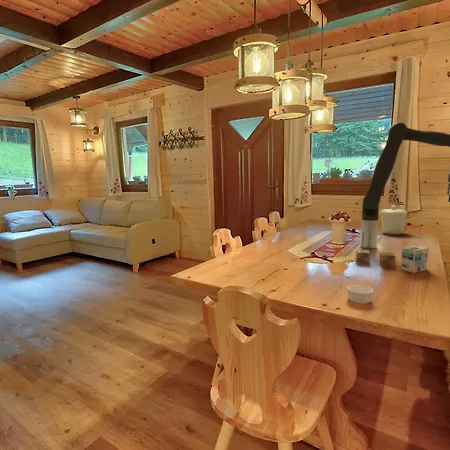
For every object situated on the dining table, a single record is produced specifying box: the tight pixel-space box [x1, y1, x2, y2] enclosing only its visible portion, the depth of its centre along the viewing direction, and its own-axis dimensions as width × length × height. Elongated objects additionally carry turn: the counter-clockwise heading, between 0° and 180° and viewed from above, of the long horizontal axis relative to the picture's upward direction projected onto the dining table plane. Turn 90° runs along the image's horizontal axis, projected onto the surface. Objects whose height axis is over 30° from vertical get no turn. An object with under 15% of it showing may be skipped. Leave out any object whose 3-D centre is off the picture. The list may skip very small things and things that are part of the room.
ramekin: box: [347, 284, 374, 305], centre depth 116 cm, size 9×9×4 cm
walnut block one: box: [379, 252, 396, 269], centre depth 157 cm, size 6×6×6 cm
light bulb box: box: [400, 244, 429, 274], centre depth 149 cm, size 11×7×11 cm, turn 117°
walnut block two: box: [355, 249, 371, 265], centre depth 163 cm, size 6×6×6 cm
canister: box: [380, 205, 409, 235], centre depth 234 cm, size 18×18×21 cm
